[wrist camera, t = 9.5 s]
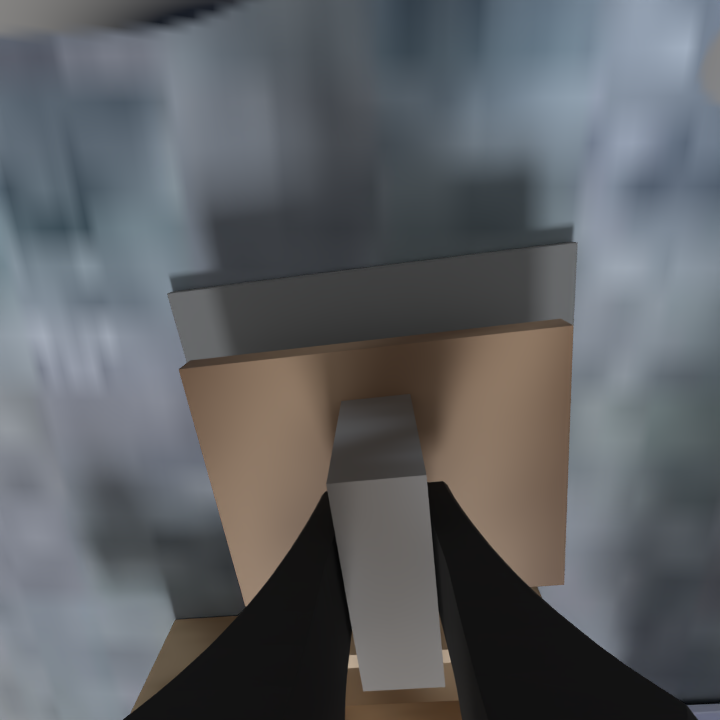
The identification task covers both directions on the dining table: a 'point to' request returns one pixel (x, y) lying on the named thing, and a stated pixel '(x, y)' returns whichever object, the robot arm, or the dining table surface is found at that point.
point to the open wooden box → (362, 708)
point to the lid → (392, 467)
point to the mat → (378, 302)
